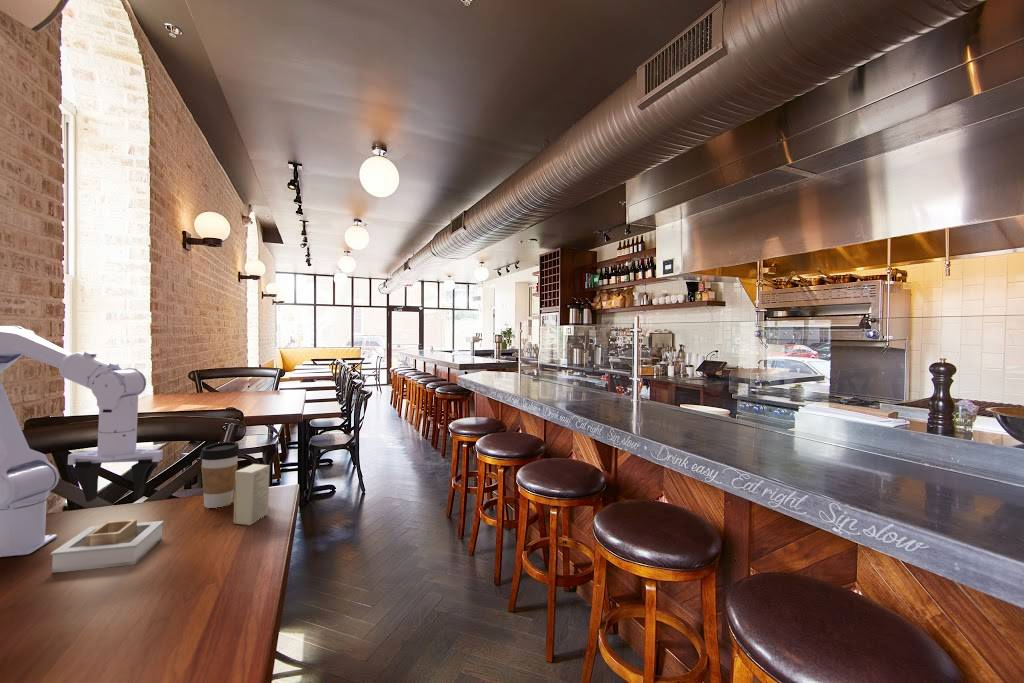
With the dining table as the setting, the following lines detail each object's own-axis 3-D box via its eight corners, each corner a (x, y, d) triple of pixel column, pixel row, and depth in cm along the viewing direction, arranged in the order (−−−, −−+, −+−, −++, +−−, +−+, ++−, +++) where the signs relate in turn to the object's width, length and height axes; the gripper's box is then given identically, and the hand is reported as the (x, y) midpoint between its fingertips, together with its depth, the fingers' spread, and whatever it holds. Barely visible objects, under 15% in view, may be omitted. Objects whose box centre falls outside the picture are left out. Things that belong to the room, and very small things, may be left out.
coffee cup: (246, 501, 113) (248, 443, 113) (214, 513, 105) (216, 450, 105) (222, 496, 116) (224, 440, 116) (189, 507, 108) (191, 446, 108)
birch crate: (85, 560, 81) (86, 535, 81) (105, 544, 87) (106, 521, 87) (118, 557, 82) (119, 533, 82) (136, 541, 88) (137, 519, 88)
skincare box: (252, 513, 106) (254, 463, 106) (269, 515, 105) (270, 464, 105) (232, 524, 99) (234, 470, 99) (249, 526, 99) (251, 472, 99)
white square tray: (49, 573, 77) (50, 553, 77) (89, 544, 88) (90, 526, 88) (135, 564, 81) (136, 545, 81) (163, 537, 92) (163, 520, 92)
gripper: (57, 435, 81) (54, 508, 81) (151, 433, 85) (148, 503, 85) (82, 427, 87) (79, 495, 87) (168, 426, 92) (165, 491, 92)
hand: (115, 498), depth 87 cm, fingers open, 7 cm apart
